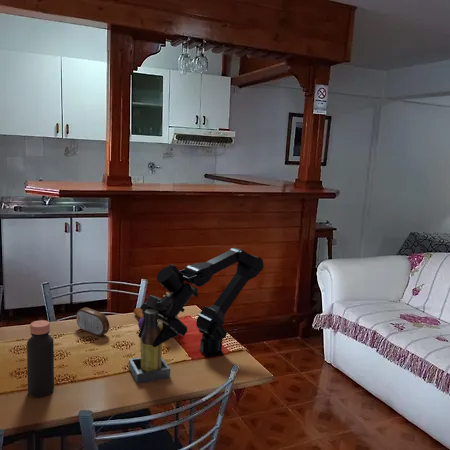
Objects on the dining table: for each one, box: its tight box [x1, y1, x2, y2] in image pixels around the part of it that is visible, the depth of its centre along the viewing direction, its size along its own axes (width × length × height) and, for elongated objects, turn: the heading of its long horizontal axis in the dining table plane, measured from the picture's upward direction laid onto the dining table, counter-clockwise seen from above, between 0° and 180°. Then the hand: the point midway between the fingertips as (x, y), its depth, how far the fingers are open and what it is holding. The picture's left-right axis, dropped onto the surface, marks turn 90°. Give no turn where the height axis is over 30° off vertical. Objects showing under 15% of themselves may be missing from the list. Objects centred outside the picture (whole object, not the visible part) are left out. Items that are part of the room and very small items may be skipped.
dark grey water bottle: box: [26, 319, 55, 398], centre depth 129 cm, size 7×7×20 cm
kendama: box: [133, 307, 144, 330], centre depth 180 cm, size 6×6×20 cm
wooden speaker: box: [75, 306, 110, 337], centre depth 170 cm, size 15×3×8 cm, turn 58°
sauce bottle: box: [140, 309, 163, 372], centre depth 141 cm, size 7×6×20 cm
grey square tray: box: [128, 355, 171, 384], centre depth 144 cm, size 10×10×3 cm
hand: (146, 341), depth 141 cm, fingers open, 8 cm apart
